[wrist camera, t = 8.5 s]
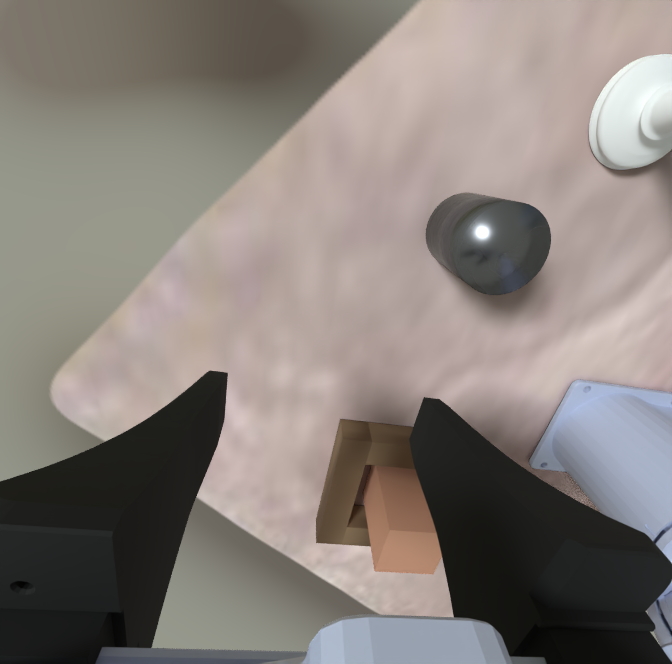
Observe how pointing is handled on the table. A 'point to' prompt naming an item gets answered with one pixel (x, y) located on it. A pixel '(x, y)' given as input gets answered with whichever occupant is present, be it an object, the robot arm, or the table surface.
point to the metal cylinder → (489, 241)
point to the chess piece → (634, 115)
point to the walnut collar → (357, 477)
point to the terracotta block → (399, 522)
